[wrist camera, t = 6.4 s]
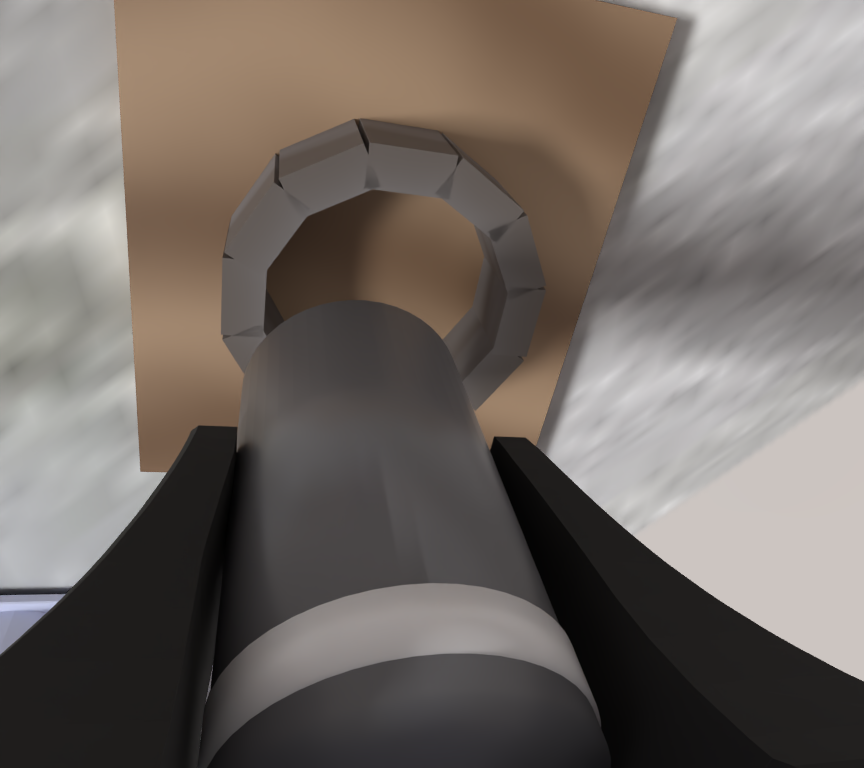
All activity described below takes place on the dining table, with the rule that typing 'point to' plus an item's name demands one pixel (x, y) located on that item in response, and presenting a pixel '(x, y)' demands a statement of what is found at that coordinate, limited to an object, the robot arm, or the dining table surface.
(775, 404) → the dining table surface
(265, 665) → the lens
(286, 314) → the mount
